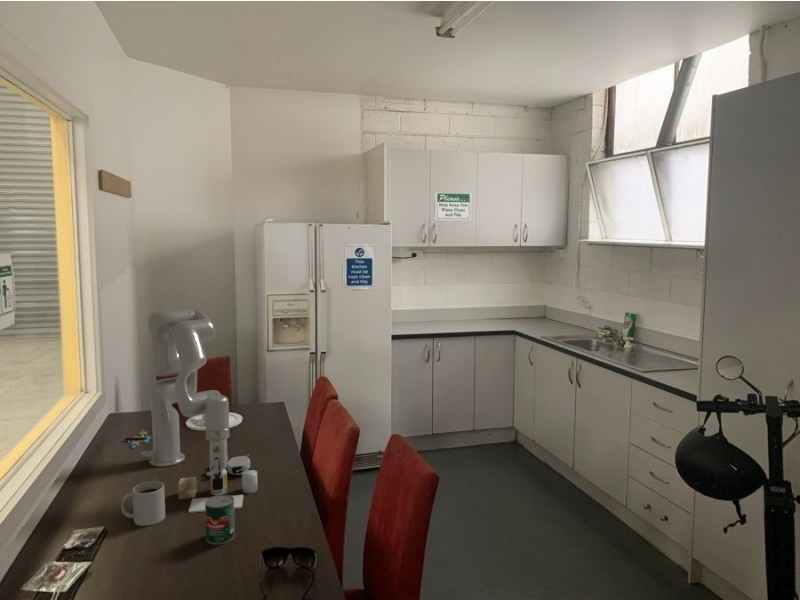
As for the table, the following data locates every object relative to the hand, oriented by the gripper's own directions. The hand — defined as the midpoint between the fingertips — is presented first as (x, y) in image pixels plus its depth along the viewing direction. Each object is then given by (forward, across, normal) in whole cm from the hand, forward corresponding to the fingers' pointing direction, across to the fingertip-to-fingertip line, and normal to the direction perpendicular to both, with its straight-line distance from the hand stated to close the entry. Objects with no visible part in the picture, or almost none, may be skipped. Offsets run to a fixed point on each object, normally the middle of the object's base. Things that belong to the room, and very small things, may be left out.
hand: (218, 484), depth 198 cm
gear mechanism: (+4, +59, +38) cm, 70 cm away
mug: (+3, -15, +20) cm, 25 cm away
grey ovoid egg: (+3, 0, -10) cm, 10 cm away
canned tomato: (+3, -31, -3) cm, 31 cm away
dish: (+4, +79, +9) cm, 79 cm away
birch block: (+3, 0, +10) cm, 10 cm away
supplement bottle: (+3, 0, 0) cm, 3 cm away
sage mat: (+2, -9, 0) cm, 10 cm away
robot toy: (+3, +17, -2) cm, 17 cm away
